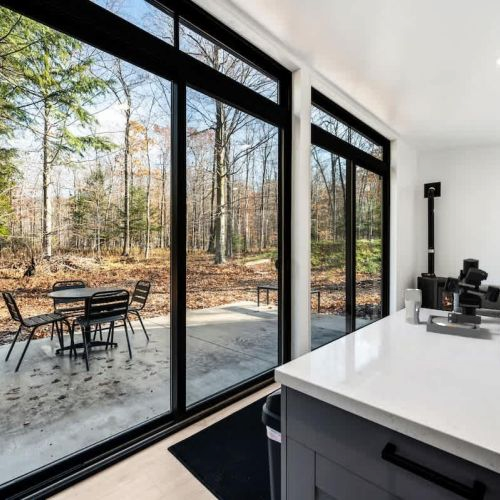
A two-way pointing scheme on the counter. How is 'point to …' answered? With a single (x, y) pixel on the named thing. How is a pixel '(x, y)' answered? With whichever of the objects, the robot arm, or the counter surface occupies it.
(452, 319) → the dial
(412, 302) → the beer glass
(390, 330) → the counter surface
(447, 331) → the dial base
